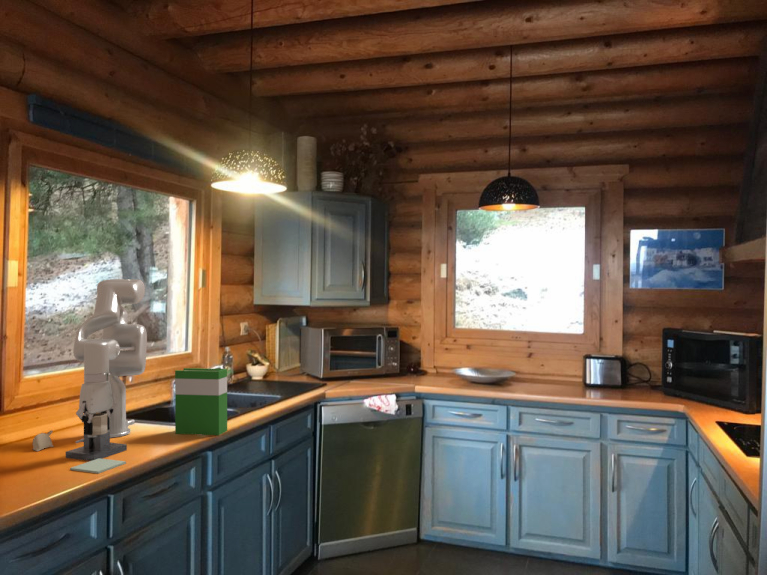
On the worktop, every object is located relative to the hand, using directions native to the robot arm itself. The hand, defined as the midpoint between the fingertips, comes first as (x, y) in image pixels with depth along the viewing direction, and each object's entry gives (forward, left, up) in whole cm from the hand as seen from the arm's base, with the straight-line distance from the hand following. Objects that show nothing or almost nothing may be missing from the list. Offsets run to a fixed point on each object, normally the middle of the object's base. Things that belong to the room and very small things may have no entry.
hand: (96, 431), depth 199 cm
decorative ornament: (0, -24, -8) cm, 25 cm away
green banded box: (-37, +14, -8) cm, 40 cm away
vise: (0, 0, -7) cm, 7 cm away
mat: (+11, +12, -7) cm, 18 cm away
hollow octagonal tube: (0, 0, 0) cm, 0 cm away
